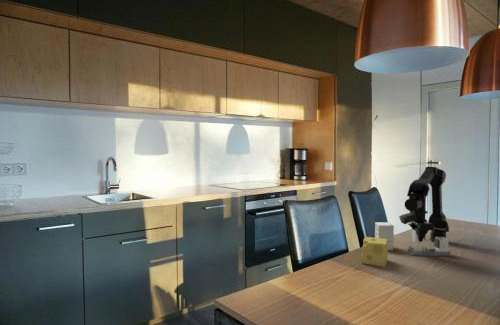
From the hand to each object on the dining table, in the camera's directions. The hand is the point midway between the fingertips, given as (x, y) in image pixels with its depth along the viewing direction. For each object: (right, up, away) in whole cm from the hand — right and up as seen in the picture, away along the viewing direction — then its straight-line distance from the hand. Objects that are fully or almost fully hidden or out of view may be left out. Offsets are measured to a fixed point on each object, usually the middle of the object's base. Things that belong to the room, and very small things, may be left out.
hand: (418, 240), depth 158 cm
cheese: (-25, -7, -10) cm, 28 cm away
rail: (+5, -7, 0) cm, 8 cm away
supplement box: (-13, -7, +10) cm, 17 cm away
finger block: (0, -1, 0) cm, 1 cm away
